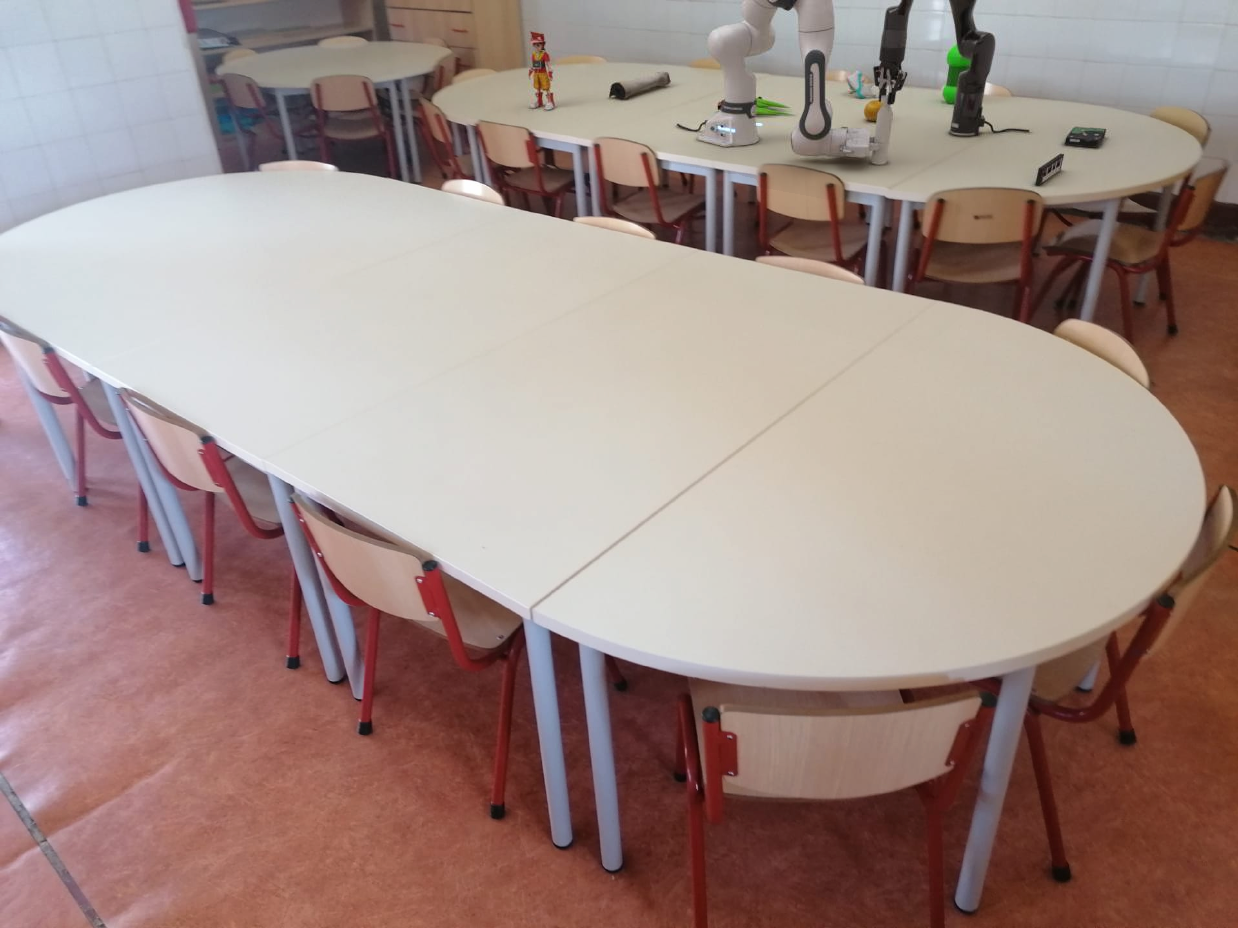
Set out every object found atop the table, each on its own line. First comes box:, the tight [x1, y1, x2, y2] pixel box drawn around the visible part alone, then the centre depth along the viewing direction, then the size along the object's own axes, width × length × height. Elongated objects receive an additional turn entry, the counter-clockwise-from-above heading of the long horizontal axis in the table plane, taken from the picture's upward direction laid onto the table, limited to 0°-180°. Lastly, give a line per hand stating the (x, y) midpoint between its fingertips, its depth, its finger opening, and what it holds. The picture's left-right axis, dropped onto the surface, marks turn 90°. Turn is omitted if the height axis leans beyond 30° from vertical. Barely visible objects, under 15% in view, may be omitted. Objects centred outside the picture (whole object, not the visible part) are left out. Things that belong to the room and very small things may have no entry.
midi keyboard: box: [1035, 153, 1065, 186], centre depth 273 cm, size 18×1×5 cm, turn 138°
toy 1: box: [527, 31, 556, 111], centre depth 374 cm, size 12×9×30 cm
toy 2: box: [716, 96, 794, 116], centre depth 357 cm, size 28×5×30 cm
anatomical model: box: [846, 69, 878, 99], centre depth 370 cm, size 15×10×10 cm
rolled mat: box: [608, 71, 672, 101], centre depth 395 cm, size 30×9×10 cm
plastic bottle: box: [942, 43, 971, 104], centre depth 348 cm, size 10×10×25 cm
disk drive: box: [1064, 126, 1107, 148], centre depth 303 cm, size 10×3×15 cm
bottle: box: [870, 103, 894, 166], centre depth 290 cm, size 5×5×20 cm
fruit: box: [863, 99, 883, 122], centre depth 337 cm, size 8×8×8 cm
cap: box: [881, 94, 888, 104], centre depth 285 cm, size 4×4×2 cm
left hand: (884, 143), depth 292 cm, fingers closed on bottle, 5 cm apart
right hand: (886, 102), depth 285 cm, fingers closed on cap, 3 cm apart
